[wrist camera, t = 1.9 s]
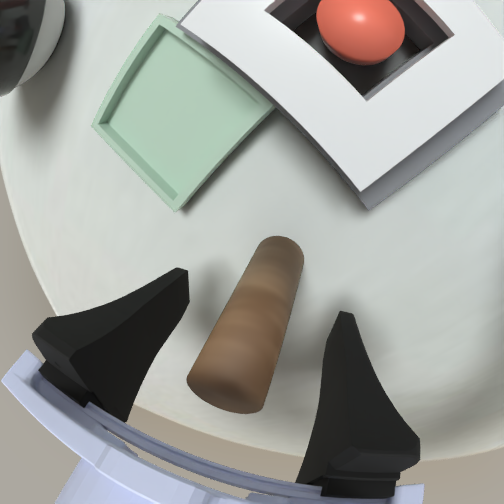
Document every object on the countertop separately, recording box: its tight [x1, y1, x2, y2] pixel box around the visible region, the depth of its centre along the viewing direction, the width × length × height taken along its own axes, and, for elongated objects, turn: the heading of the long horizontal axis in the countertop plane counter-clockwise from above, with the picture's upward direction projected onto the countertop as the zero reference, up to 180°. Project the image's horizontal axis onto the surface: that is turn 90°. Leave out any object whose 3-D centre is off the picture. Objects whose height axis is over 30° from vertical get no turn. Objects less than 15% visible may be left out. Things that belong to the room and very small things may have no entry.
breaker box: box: [175, 0, 504, 210], centre depth 7 cm, size 12×10×4 cm
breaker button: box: [317, 0, 405, 65], centre depth 7 cm, size 3×3×2 cm
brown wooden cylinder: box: [187, 236, 304, 414], centre depth 12 cm, size 3×3×9 cm
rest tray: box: [91, 14, 276, 212], centre depth 12 cm, size 8×8×1 cm
